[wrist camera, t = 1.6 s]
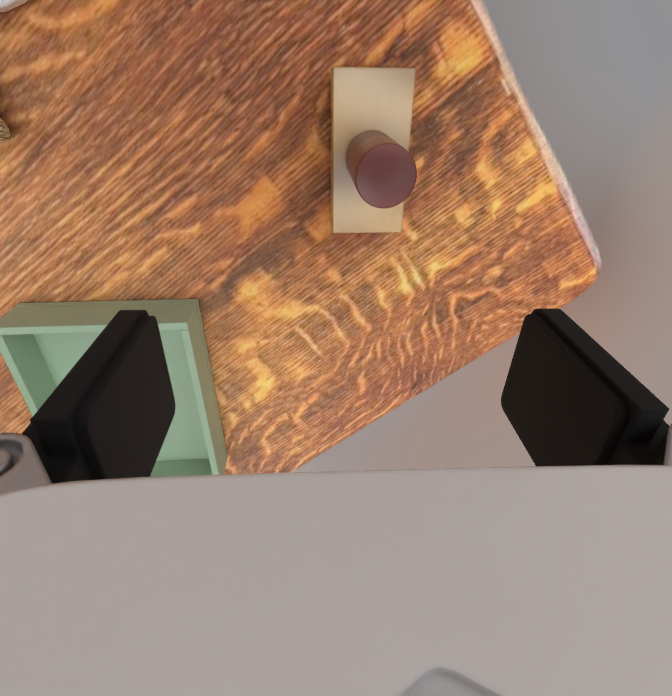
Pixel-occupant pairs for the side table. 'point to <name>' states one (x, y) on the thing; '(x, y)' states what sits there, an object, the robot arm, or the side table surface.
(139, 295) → the side table surface
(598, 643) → the robot arm
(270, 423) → the side table surface
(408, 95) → the stamp
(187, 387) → the tray
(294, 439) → the side table surface
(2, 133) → the shark head
